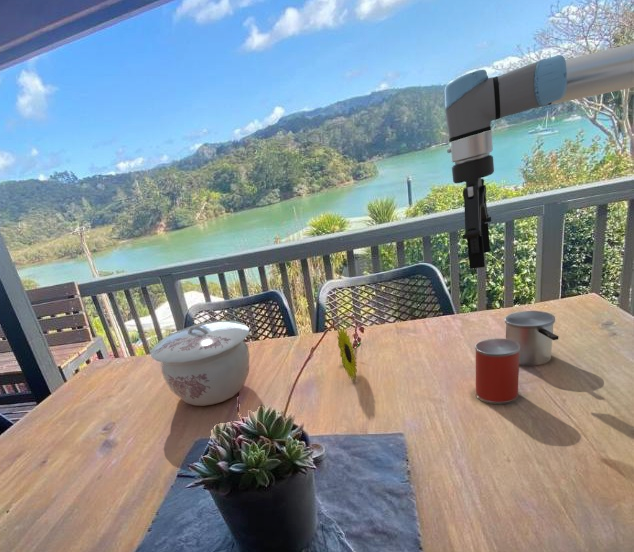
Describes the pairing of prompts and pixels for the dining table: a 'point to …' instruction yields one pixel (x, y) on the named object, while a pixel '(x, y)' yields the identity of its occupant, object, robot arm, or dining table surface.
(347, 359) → the decorative plant
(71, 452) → the dining table surface
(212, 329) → the chamber pot
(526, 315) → the steel pot
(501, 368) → the tin can
